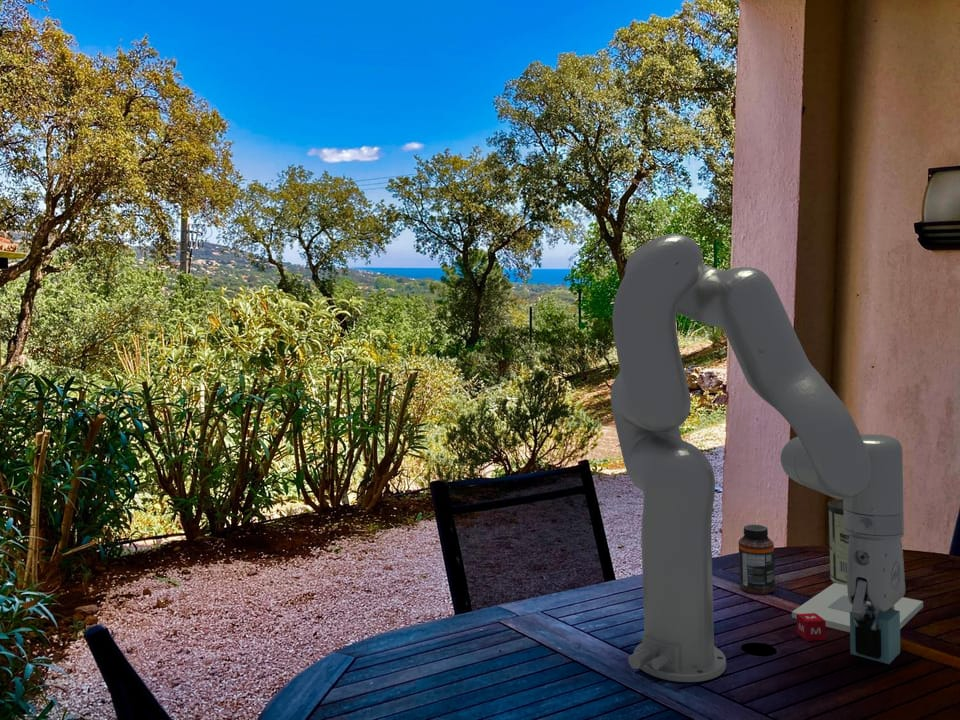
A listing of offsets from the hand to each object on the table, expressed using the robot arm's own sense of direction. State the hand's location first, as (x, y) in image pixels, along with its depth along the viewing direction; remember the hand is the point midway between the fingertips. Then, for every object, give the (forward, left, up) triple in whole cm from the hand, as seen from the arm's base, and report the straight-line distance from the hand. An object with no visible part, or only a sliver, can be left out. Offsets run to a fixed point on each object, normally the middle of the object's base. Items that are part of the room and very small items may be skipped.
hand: (875, 647), depth 105 cm
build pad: (+14, +7, -1) cm, 16 cm away
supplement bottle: (+14, +24, -1) cm, 28 cm away
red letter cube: (0, +9, -1) cm, 9 cm away
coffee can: (+30, +12, -1) cm, 32 cm away
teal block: (0, 0, -1) cm, 1 cm away
